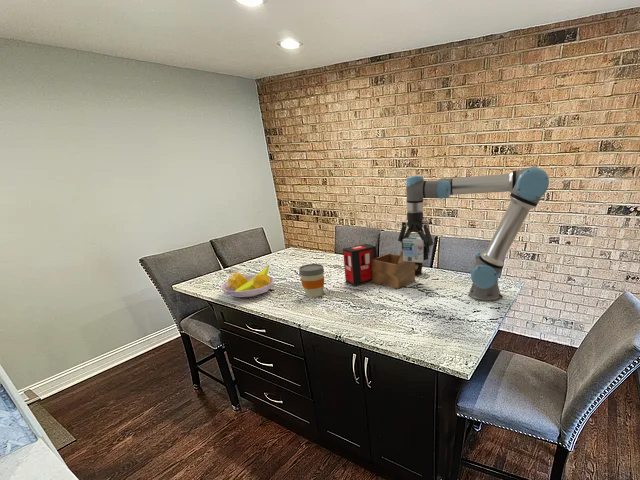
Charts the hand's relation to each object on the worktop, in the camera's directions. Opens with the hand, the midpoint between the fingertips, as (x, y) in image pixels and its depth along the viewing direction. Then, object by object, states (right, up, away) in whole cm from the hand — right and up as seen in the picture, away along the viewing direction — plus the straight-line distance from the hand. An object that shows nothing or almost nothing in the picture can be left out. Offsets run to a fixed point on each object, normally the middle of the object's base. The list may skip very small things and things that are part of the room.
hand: (415, 257), depth 163 cm
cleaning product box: (-30, -9, +35) cm, 47 cm away
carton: (-11, -10, +33) cm, 36 cm away
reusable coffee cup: (-53, -18, +16) cm, 58 cm away
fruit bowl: (-88, -16, +20) cm, 92 cm away
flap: (-3, +5, +19) cm, 20 cm away
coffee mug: (+1, -4, +46) cm, 46 cm away
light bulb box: (0, -1, +1) cm, 1 cm away
